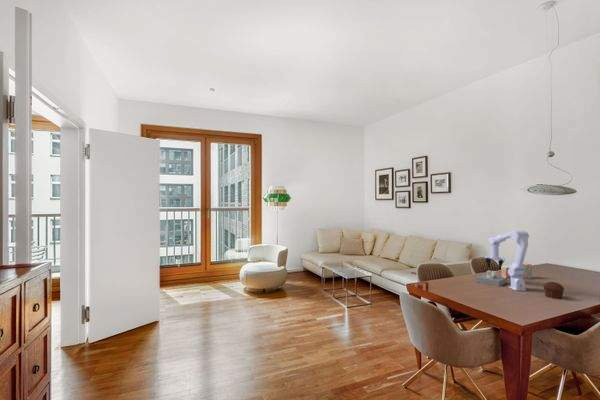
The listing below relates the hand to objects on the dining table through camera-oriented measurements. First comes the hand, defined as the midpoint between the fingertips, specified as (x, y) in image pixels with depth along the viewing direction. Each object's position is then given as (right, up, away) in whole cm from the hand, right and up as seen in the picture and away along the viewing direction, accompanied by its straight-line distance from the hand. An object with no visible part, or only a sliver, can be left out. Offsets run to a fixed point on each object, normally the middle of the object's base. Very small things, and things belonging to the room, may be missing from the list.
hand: (494, 268), depth 250 cm
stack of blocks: (+26, -11, +11) cm, 30 cm away
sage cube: (-5, -7, -4) cm, 9 cm away
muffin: (+15, -11, -41) cm, 45 cm away
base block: (-5, -11, -4) cm, 12 cm away
